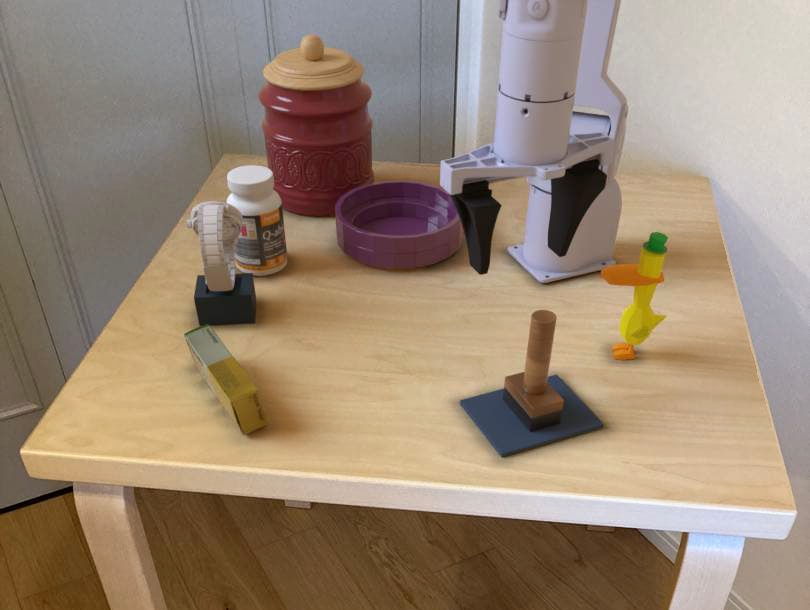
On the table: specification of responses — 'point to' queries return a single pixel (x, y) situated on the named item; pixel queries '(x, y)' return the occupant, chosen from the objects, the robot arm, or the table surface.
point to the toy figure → (638, 294)
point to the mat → (513, 434)
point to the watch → (221, 267)
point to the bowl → (398, 224)
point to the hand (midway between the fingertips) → (518, 260)
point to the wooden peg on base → (535, 378)
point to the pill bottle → (258, 221)
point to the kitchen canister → (316, 126)
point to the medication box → (226, 379)
